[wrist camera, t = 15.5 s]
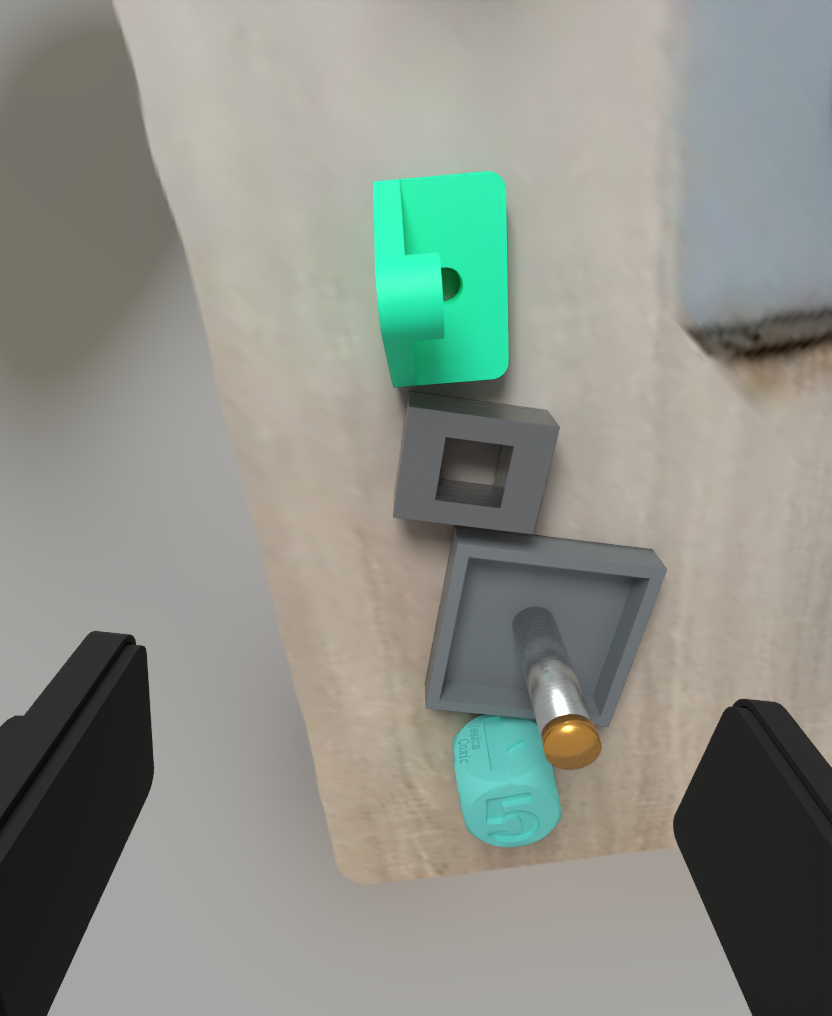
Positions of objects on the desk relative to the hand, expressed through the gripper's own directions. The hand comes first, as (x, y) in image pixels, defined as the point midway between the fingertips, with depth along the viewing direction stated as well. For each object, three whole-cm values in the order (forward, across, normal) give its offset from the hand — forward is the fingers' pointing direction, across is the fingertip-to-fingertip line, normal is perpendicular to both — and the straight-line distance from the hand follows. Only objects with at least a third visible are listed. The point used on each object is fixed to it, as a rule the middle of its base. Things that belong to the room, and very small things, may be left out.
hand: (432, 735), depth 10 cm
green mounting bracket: (+35, -1, -4) cm, 35 cm away
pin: (+34, -13, +21) cm, 42 cm away
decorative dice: (+35, -13, +35) cm, 51 cm away
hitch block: (+34, -5, +7) cm, 35 cm away
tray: (+34, -13, +21) cm, 42 cm away
